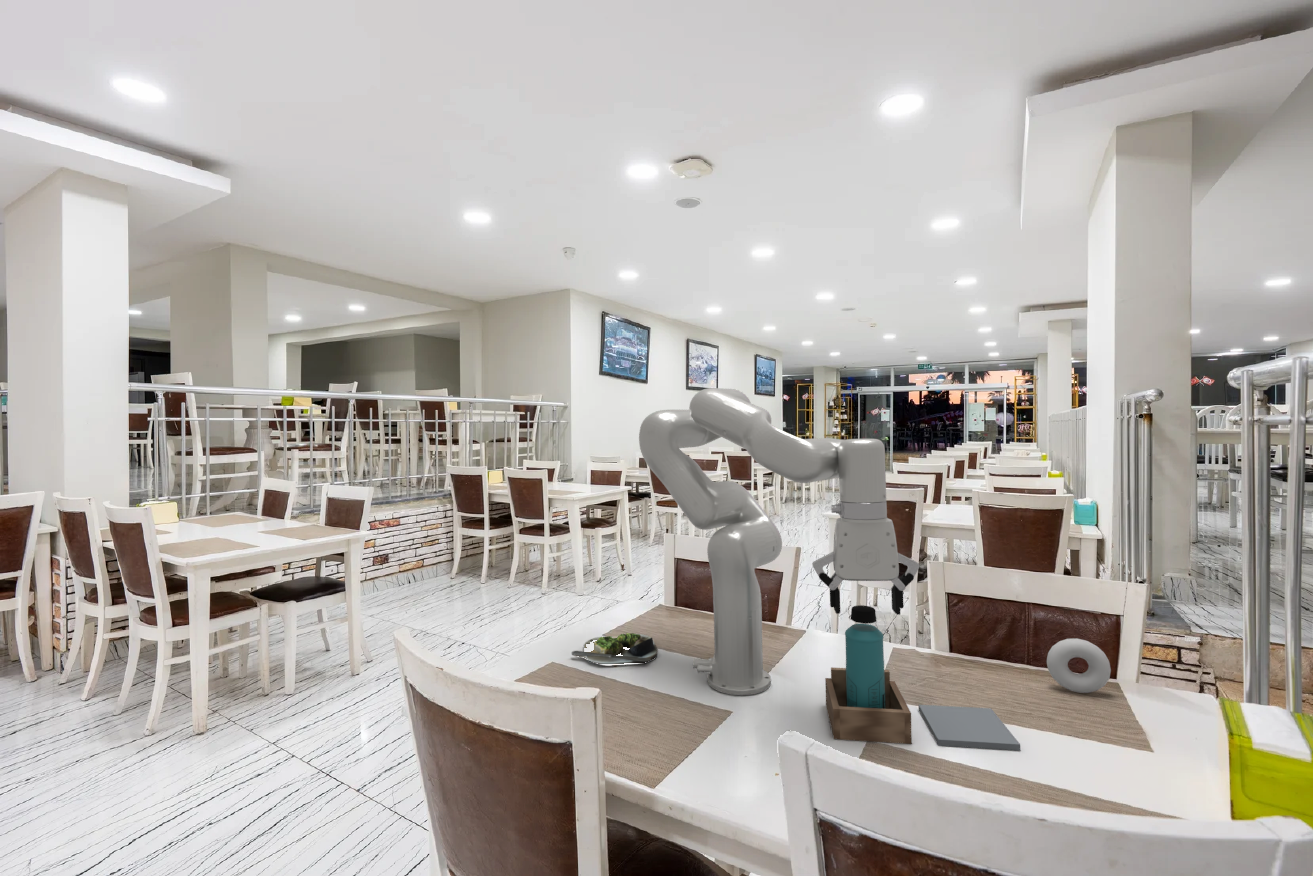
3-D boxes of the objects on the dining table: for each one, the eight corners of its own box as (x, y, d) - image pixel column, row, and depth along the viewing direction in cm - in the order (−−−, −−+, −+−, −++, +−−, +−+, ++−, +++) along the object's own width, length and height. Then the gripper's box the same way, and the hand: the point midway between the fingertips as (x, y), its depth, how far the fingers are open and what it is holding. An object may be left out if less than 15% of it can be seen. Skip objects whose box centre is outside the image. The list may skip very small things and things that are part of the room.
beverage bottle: (889, 734, 99) (887, 614, 99) (847, 731, 101) (845, 612, 100) (883, 715, 106) (881, 602, 105) (843, 713, 107) (841, 601, 107)
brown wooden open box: (833, 739, 98) (833, 696, 98) (825, 705, 110) (825, 667, 110) (911, 744, 96) (910, 700, 96) (894, 708, 108) (894, 670, 108)
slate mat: (938, 745, 96) (938, 739, 96) (918, 710, 108) (918, 704, 107) (1020, 750, 94) (1020, 744, 94) (991, 714, 105) (991, 708, 105)
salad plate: (572, 675, 127) (571, 654, 127) (570, 645, 144) (570, 626, 144) (663, 667, 130) (662, 646, 130) (650, 639, 148) (650, 620, 147)
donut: (1108, 692, 113) (1108, 639, 112) (1113, 700, 109) (1113, 645, 109) (1045, 684, 117) (1044, 632, 117) (1048, 691, 114) (1047, 638, 113)
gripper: (812, 515, 100) (816, 617, 100) (923, 513, 97) (926, 619, 97) (808, 509, 108) (812, 604, 108) (911, 507, 105) (914, 606, 105)
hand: (866, 611), depth 103 cm, fingers open, 9 cm apart
